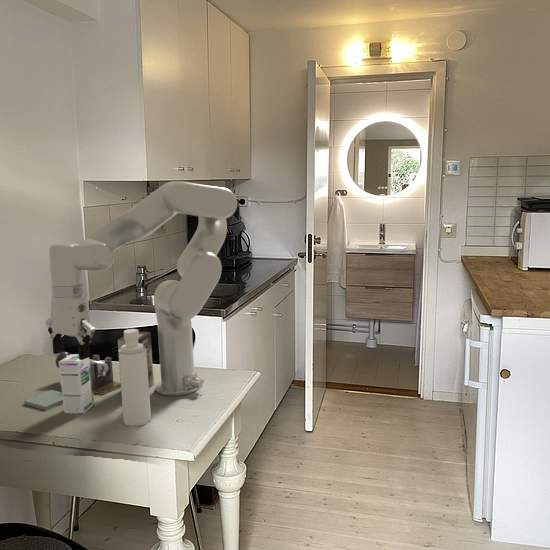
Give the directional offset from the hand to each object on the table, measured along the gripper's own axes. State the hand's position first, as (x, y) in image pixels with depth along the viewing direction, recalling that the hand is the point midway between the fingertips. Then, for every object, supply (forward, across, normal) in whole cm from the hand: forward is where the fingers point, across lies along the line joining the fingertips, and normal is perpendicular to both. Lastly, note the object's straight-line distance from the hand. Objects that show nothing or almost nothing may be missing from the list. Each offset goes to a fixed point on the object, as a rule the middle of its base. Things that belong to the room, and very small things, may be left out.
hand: (71, 355), depth 148 cm
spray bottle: (+15, -20, -3) cm, 25 cm away
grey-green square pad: (+15, +12, -1) cm, 19 cm away
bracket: (+15, +8, -15) cm, 22 cm away
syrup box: (+15, 0, -1) cm, 15 cm away
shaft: (+12, +13, -15) cm, 23 cm away
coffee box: (+15, -4, -19) cm, 24 cm away
